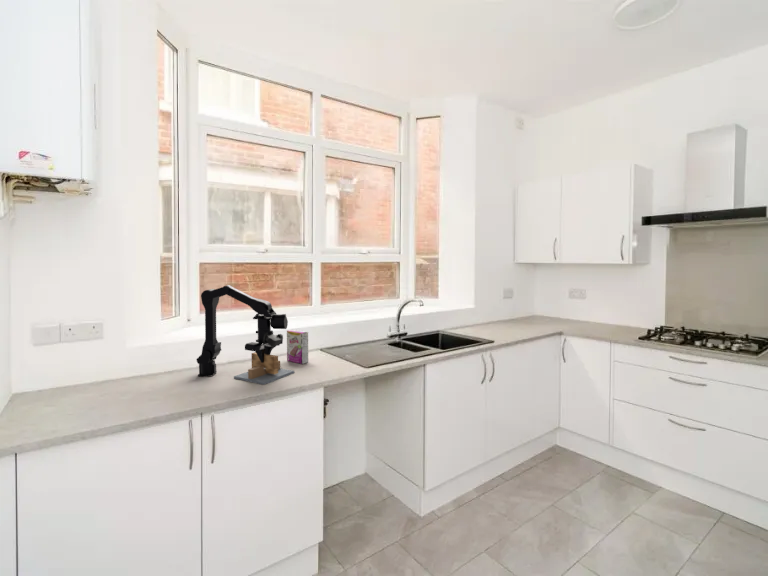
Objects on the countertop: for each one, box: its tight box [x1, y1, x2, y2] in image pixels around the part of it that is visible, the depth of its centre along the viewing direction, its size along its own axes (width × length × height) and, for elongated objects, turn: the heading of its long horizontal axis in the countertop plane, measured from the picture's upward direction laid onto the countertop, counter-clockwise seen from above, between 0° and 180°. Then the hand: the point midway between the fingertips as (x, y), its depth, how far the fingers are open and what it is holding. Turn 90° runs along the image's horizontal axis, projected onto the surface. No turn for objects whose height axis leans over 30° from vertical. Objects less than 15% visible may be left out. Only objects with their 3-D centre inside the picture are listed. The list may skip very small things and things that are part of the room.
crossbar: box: [251, 351, 279, 374], centre depth 186 cm, size 14×2×8 cm, turn 63°
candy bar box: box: [286, 329, 309, 365], centre depth 210 cm, size 11×5×16 cm, turn 58°
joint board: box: [233, 360, 295, 385], centre depth 186 cm, size 20×18×5 cm
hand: (264, 361), depth 186 cm, fingers closed on crossbar, 2 cm apart
